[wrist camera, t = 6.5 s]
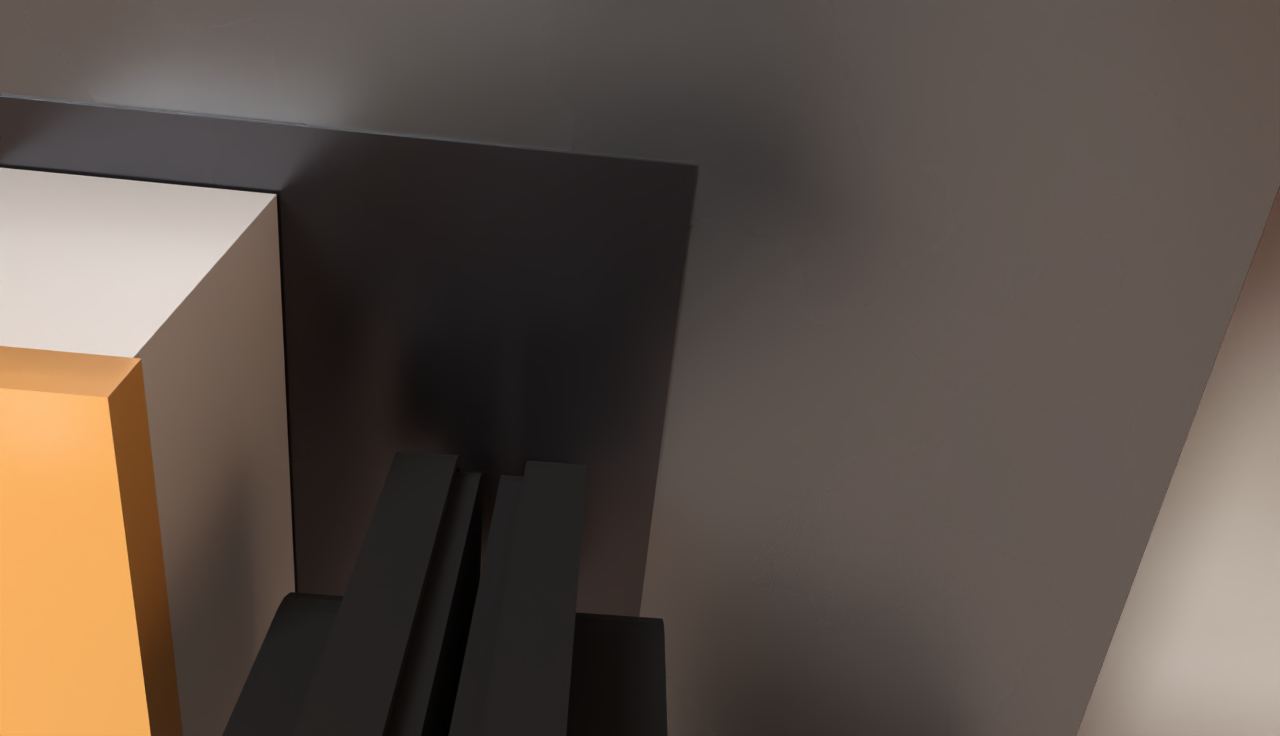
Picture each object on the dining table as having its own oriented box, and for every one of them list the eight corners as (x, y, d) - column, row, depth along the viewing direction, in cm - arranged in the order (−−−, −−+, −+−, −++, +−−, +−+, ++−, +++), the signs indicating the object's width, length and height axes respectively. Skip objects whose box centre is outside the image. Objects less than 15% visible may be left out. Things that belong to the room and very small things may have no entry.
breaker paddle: (-15, 166, 10) (-337, 359, 7) (281, 194, 10) (108, 397, 7) (73, 698, 13) (-123, 1015, 9) (305, 716, 13) (189, 1036, 9)
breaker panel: (-701, -442, 10) (-1176, -518, 8) (1240, -219, 11) (1431, -216, 8) (-285, 714, 17) (-465, 895, 14) (930, 808, 18) (981, 996, 15)
